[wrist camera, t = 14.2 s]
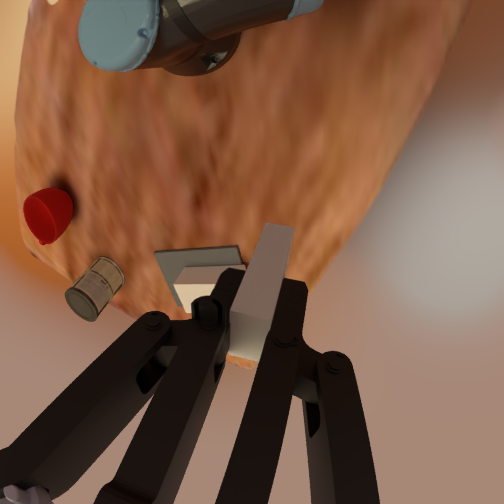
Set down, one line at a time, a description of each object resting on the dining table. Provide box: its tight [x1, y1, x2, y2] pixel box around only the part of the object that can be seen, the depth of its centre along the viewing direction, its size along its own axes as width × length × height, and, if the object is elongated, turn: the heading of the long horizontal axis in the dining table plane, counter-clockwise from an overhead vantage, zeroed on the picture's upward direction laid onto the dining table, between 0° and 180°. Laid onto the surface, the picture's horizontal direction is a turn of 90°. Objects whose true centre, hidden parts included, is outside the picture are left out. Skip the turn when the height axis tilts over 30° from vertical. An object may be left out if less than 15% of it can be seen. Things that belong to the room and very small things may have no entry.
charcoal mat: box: [154, 245, 243, 306], centre depth 66 cm, size 20×16×1 cm
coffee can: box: [65, 257, 124, 322], centre depth 69 cm, size 10×10×14 cm
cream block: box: [173, 265, 246, 313], centre depth 62 cm, size 6×8×14 cm
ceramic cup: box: [23, 188, 73, 245], centre depth 62 cm, size 13×17×10 cm
